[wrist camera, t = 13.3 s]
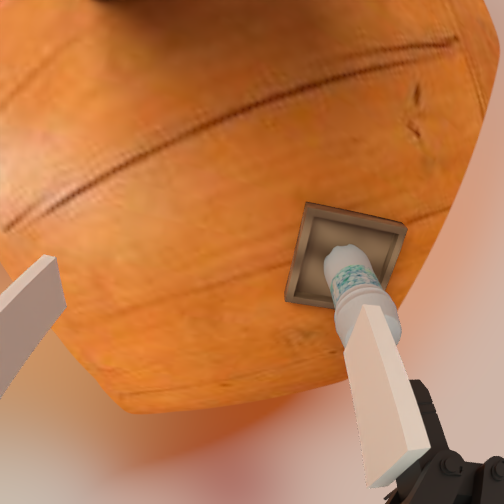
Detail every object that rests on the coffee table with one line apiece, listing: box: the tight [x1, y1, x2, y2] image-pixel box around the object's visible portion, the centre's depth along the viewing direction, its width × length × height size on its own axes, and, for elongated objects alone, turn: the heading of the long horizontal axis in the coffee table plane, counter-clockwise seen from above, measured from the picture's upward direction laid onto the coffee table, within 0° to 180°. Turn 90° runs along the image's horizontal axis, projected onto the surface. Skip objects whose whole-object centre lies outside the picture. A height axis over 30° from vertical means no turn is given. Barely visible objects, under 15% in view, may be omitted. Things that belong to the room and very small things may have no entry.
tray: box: [284, 202, 407, 309], centre depth 43 cm, size 14×14×2 cm
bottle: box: [324, 244, 401, 348], centre depth 34 cm, size 7×7×20 cm
